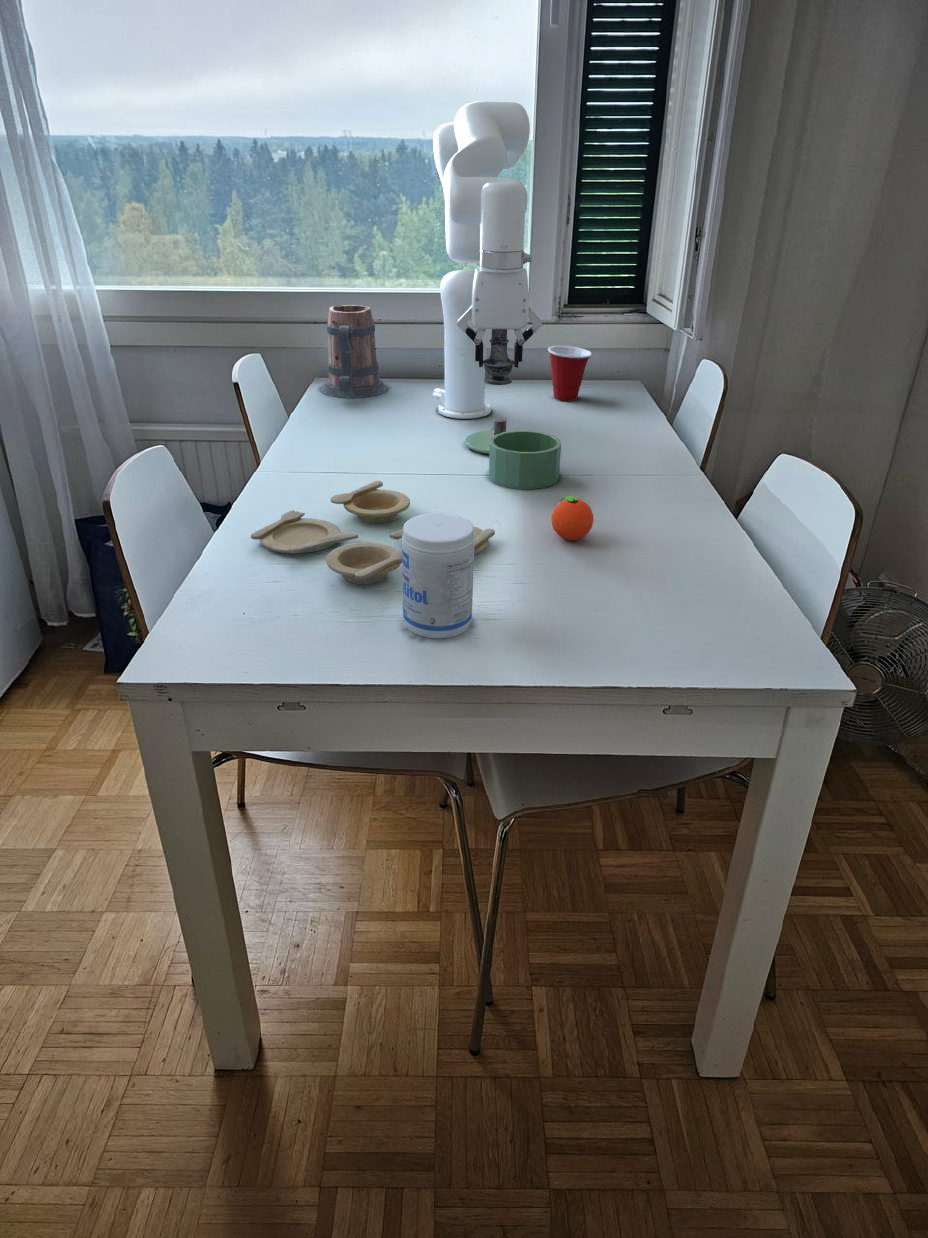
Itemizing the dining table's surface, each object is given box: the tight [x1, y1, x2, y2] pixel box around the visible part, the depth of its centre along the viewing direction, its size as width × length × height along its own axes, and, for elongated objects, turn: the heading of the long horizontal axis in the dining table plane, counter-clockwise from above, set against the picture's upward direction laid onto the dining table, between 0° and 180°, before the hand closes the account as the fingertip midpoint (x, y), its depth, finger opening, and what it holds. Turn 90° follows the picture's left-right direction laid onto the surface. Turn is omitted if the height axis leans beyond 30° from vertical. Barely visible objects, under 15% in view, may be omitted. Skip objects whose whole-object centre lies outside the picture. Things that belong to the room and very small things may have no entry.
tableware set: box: [250, 480, 496, 585], centre depth 142 cm, size 35×29×4 cm
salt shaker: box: [483, 329, 514, 386], centre depth 159 cm, size 6×6×12 cm
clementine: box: [550, 495, 594, 541], centre depth 144 cm, size 8×7×7 cm
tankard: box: [320, 304, 388, 399], centre depth 216 cm, size 24×17×20 cm
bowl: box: [488, 430, 562, 490], centre depth 168 cm, size 14×14×7 cm
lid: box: [464, 417, 510, 455], centre depth 185 cm, size 15×15×6 cm
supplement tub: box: [401, 512, 475, 639], centre depth 117 cm, size 10×10×15 cm
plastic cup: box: [547, 345, 592, 402], centre depth 216 cm, size 11×11×12 cm
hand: (498, 364), depth 160 cm, fingers closed on salt shaker, 5 cm apart
